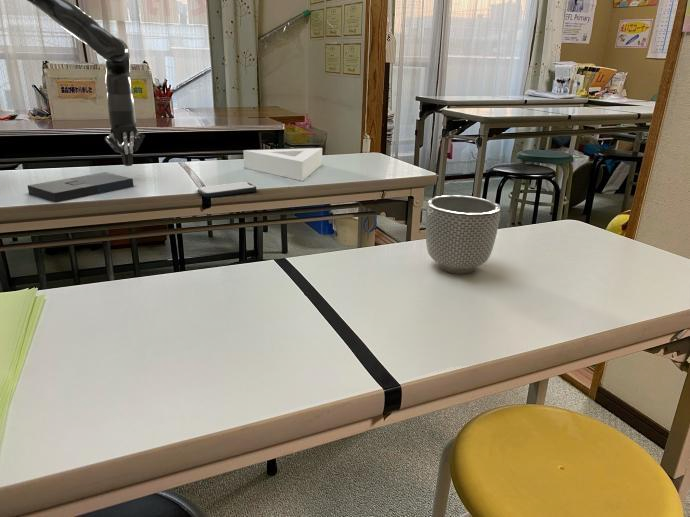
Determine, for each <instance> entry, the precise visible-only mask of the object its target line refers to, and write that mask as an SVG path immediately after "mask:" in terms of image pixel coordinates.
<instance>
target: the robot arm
mask: <svg viewBox="0 0 690 517" xmlns="http://www.w3.org/2000/svg"><path fill="white" fill-rule="evenodd" d="M26 1H27V2H29V3H30V4H32V5H33V6H35V7H36V8H38V9H39V10H40V11H42V12H43V13H44V14H45V15H47V16H48V17H49V18H51V19H52V21H54V22H55V23H56V24H58V25H59V26H60V27H62V28H63V29H64V30H66V31H67V33H69V34H71V35H72V36H73V37H75V38H76V39H78V40H79V41H81V42H82V43H84V44H86V45H87V46H88V47H89V48H90V49H91V50H93V51H94V52H95V53H96V54H97V55H98V56H100V57H101V58H103V60H105V67H106V74H105V88H106V100H107V101H106V102H107V110H108V120H109V124H110V127H111V128H110V134H109V135H108V136H105V137H104V138H103V139H104V141H105V142H106V143H107V144H108V145H109V146H110V148H111V149H112V150H113V151H114V152H115V153H120V155H121V161H122V164H123V165H124V166H125V167H132V166H133V164H134V156H133V154H134V152H137V151H138V150H139V149H140V146H141V145H142V143H143V140H144V139H145V137H146V136H145V134H143V133H140V132H139V130H138V128H137V126H136V125H137V115H136V114H137V113H136V106H135V99H134V95H133V86H132V78H131V59H130V58H131V57H130V49H129V47H128V45H127V43H126V42H125V41H124V40H123V39H120V38H118V37H116V36H114V35H113V34H111V33H110V32H108V31H107V29H105V28H103V27H102V26H100V24H99V23H98V22H97V21H96V20H94V19H93V17H91V16H90V15H88V14H87V13H85V12H84V11H83V10H82V9H80V8H79V7H78V6H76V5H75V4H74V3H72V2H70V1H68V0H26Z"/></svg>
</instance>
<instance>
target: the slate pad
mask: <svg viewBox="0 0 690 517" xmlns="http://www.w3.org/2000/svg"><path fill="white" fill-rule="evenodd" d="M69 179H73V180H77V181H76V182H70V183H67V184H70V185H73V186H74V185H78V184H84V183H88V184H92V185H96V190H97V194H96V195H100V194H103V193H109V192H114V191H119V190H123V189H127V188H128V189H129V188H132V187H133V188H134V186H135V184H134V178H132V177H128V176H123V175H119V174H115V173H112V172H111V173H110V172H106V171H104V172H99V173H93V174H87V175H82V176H81V175H80V176H75V177H69Z"/></svg>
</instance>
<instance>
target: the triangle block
mask: <svg viewBox="0 0 690 517" xmlns="http://www.w3.org/2000/svg"><path fill="white" fill-rule="evenodd" d="M242 151H243V152H242V153H243V168H244V169H248V170H253V171H255V172H256V171H257V172H262V173H265V174H269V175H275V176H279V177H284V178H288V179H292V180H296V181H302V182H303V181H304V180H305V179H307V178H308V177H309V176H311V174H313V173H314V172H316V171H317V170H318V169H319V168H320V167H321V166H323V147H307V148H277V149H276V148H275V149H271V148H270V149H245V150H244V149H243V150H242Z"/></svg>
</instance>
